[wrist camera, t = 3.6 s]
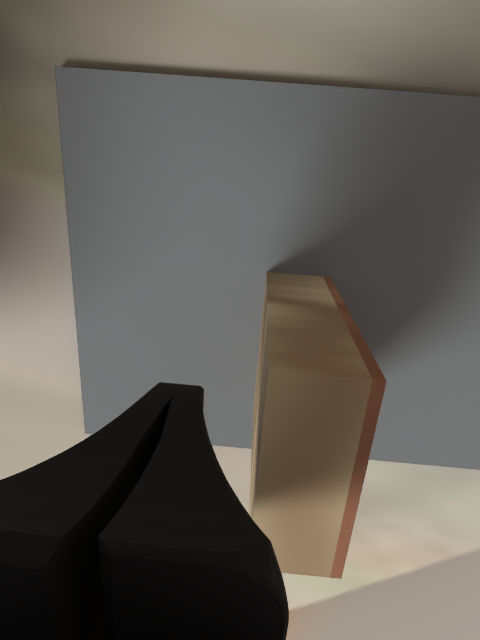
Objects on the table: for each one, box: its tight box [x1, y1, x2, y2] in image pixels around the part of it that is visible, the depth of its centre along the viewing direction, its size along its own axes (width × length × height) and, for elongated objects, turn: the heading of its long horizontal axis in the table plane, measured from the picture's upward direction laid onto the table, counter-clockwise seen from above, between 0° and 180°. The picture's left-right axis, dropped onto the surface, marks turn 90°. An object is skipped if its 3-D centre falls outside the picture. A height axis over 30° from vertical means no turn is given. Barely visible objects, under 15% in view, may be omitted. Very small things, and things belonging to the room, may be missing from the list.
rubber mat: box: [55, 66, 480, 470], centre depth 17 cm, size 20×15×1 cm
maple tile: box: [249, 272, 387, 579], centre depth 14 cm, size 2×6×8 cm, turn 176°
